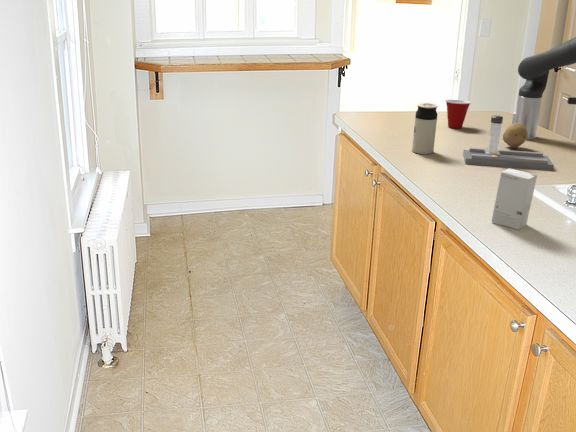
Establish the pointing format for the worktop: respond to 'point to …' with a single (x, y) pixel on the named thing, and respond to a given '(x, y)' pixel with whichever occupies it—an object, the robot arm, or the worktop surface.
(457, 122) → the plastic cup
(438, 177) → the worktop surface
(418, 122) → the travel mug
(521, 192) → the skincare box
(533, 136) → the robot arm
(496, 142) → the fader lever
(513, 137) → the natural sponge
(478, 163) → the slider board
